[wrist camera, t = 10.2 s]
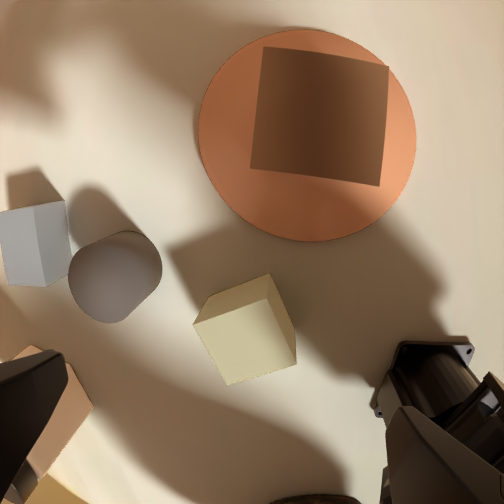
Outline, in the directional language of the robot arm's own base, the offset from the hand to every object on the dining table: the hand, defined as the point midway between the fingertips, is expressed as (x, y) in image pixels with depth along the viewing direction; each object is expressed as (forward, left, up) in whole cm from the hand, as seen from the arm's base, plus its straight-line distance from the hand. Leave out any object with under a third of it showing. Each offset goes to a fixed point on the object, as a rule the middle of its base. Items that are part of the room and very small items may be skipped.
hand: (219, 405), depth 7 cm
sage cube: (0, +3, -12) cm, 12 cm away
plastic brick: (+15, 0, -12) cm, 19 cm away
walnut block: (-2, -8, -11) cm, 14 cm away
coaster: (-2, -8, -12) cm, 15 cm away
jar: (+17, +14, -12) cm, 25 cm away
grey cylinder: (+8, +1, -12) cm, 15 cm away
